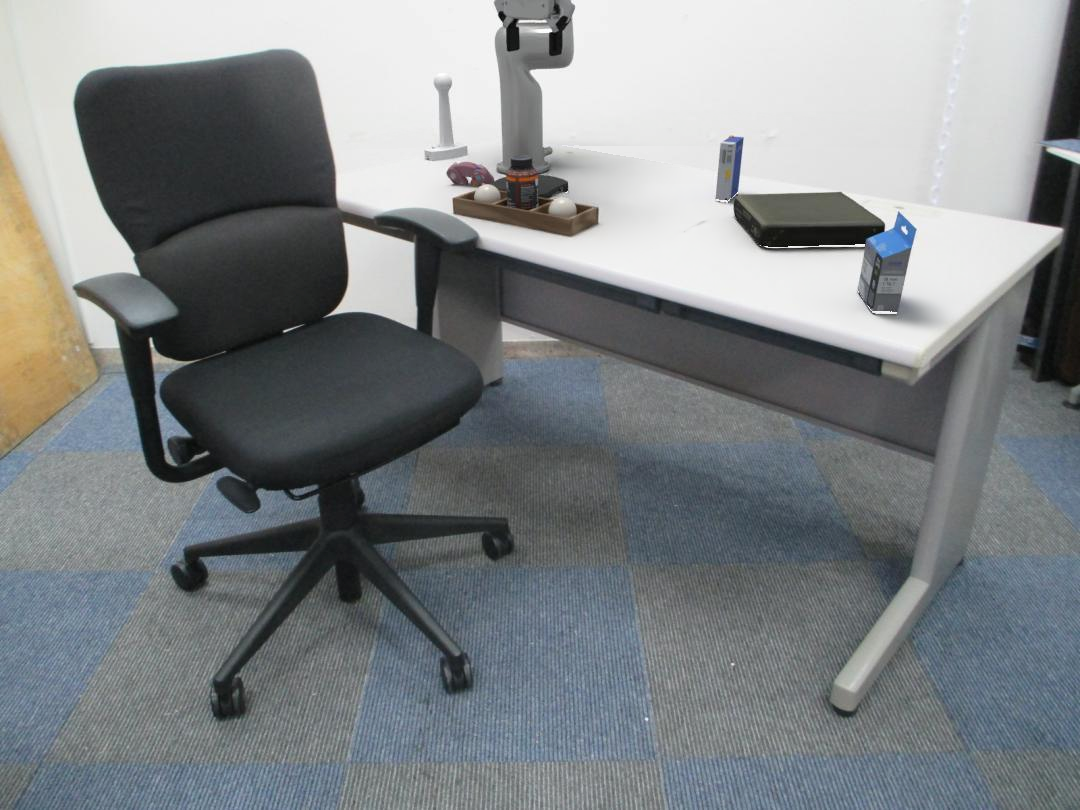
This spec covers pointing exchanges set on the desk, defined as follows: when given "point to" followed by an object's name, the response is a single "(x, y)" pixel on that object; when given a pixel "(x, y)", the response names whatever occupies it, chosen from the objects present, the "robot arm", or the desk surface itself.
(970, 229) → the desk surface
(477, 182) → the video game controller
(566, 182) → the media streaming box
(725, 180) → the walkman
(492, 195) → the egg
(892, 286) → the grey and blue box
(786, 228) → the network switch
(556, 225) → the holder
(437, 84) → the joystick
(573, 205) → the egg
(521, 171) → the supplement bottle
